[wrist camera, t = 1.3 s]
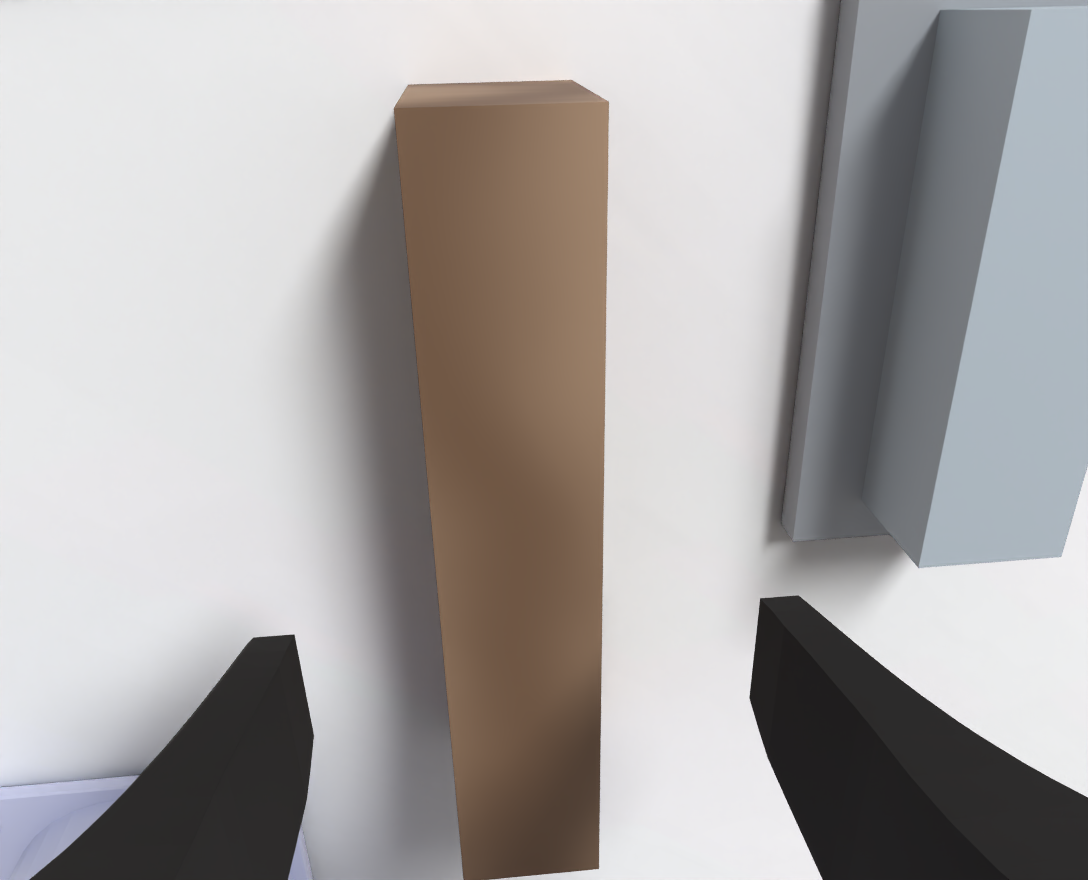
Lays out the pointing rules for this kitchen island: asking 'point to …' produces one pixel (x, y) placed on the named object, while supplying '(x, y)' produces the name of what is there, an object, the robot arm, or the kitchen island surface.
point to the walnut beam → (514, 449)
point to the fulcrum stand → (948, 284)
